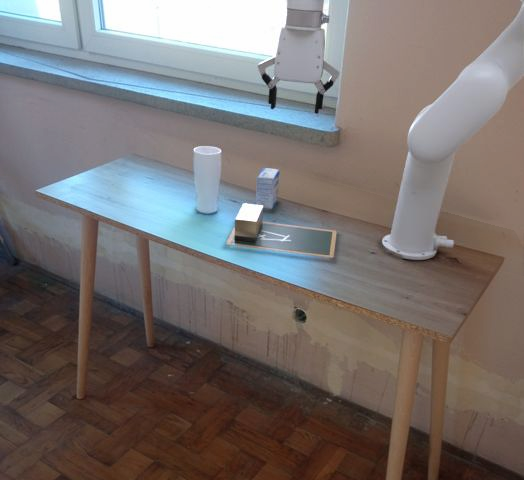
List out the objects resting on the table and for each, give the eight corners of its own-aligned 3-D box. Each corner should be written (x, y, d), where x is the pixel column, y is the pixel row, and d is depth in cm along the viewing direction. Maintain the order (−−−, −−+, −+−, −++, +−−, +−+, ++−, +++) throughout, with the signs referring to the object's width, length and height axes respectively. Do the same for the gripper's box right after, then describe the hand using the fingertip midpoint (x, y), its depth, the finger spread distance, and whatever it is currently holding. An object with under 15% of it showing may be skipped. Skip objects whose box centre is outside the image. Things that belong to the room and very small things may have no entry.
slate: (336, 234, 134) (336, 230, 133) (333, 262, 122) (333, 257, 121) (238, 222, 136) (238, 218, 135) (225, 248, 124) (225, 243, 123)
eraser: (262, 225, 133) (263, 205, 130) (255, 242, 125) (256, 221, 122) (242, 223, 133) (243, 203, 130) (234, 240, 125) (235, 219, 122)
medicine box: (271, 212, 143) (274, 178, 138) (254, 210, 143) (256, 176, 138) (277, 201, 149) (280, 169, 144) (261, 199, 150) (263, 167, 144)
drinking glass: (224, 214, 139) (225, 153, 131) (197, 216, 137) (197, 155, 128) (215, 204, 144) (216, 145, 136) (190, 206, 142) (189, 146, 133)
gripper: (346, 22, 114) (335, 110, 124) (263, 14, 116) (258, 102, 126) (345, 25, 108) (333, 118, 118) (257, 17, 110) (253, 109, 120)
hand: (294, 110), depth 122 cm, fingers open, 9 cm apart
